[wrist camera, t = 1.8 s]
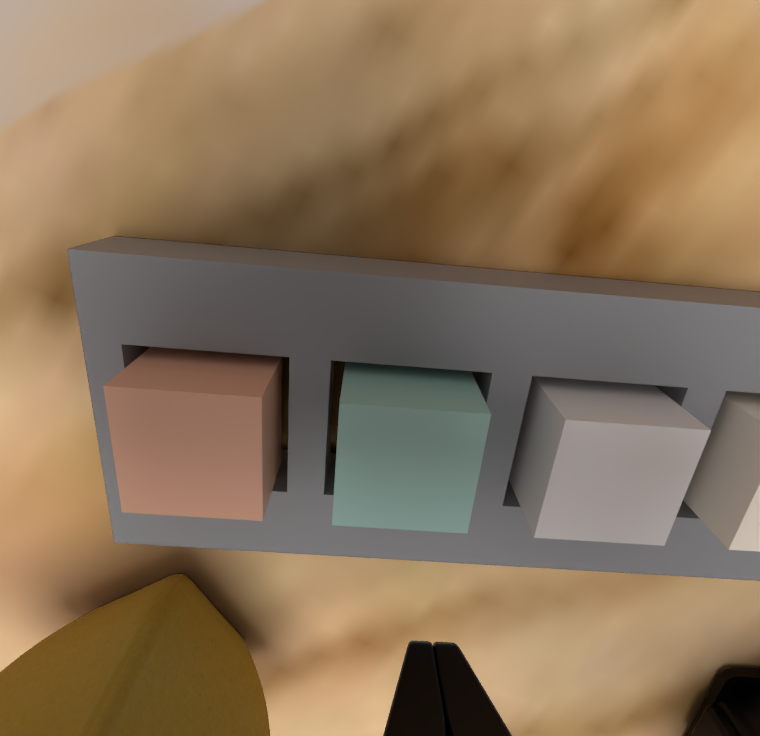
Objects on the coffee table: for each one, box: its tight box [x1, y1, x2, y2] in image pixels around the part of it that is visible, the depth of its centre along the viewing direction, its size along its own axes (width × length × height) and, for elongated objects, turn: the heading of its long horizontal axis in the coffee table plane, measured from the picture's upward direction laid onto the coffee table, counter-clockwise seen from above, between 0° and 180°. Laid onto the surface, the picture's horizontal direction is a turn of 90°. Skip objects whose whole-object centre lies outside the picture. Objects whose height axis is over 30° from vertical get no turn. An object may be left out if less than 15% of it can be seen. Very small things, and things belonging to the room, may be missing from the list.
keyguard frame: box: [67, 236, 760, 581], centre depth 16 cm, size 25×10×2 cm, turn 85°
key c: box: [332, 362, 491, 534], centre depth 15 cm, size 4×4×3 cm
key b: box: [509, 376, 711, 546], centre depth 15 cm, size 4×4×3 cm
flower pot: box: [0, 574, 270, 736], centre depth 18 cm, size 9×9×9 cm
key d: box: [103, 347, 282, 521], centre depth 15 cm, size 4×4×3 cm
